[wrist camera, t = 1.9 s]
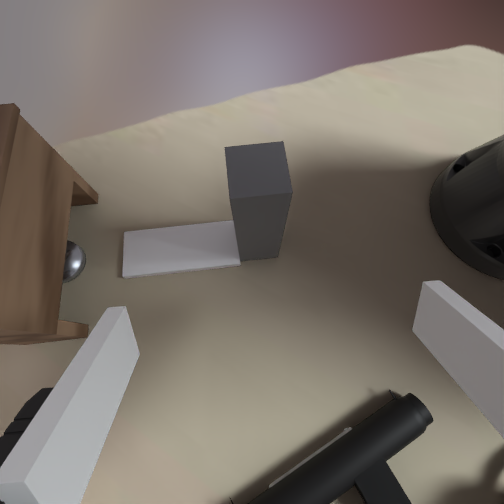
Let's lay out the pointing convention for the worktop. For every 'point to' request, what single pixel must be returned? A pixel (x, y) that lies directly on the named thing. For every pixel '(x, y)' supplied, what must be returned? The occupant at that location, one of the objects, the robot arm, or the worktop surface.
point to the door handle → (355, 460)
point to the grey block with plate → (224, 232)
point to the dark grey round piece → (73, 261)
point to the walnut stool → (34, 233)
